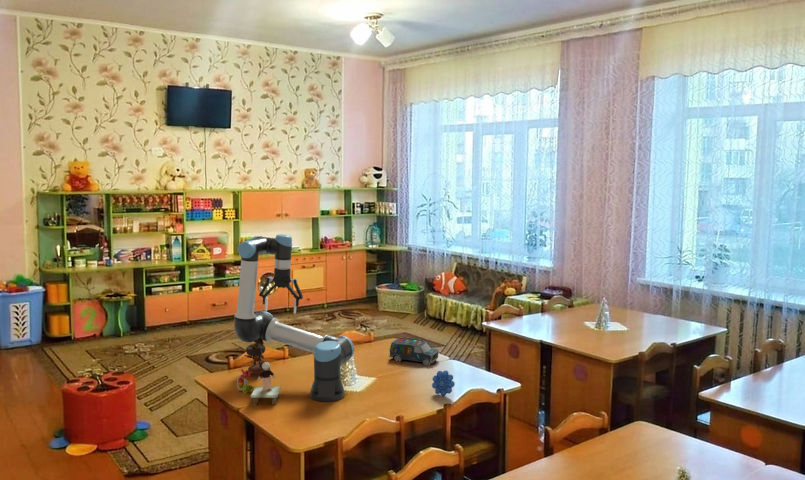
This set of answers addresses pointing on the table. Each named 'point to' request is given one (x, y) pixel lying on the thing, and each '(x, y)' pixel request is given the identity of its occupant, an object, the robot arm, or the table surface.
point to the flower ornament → (244, 382)
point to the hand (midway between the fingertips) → (280, 312)
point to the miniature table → (266, 394)
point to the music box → (256, 357)
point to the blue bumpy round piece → (443, 383)
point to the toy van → (413, 351)
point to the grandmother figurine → (266, 377)
